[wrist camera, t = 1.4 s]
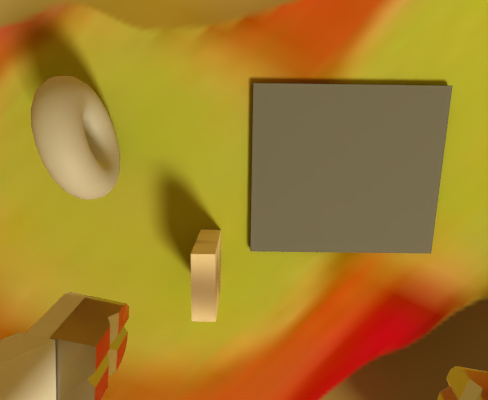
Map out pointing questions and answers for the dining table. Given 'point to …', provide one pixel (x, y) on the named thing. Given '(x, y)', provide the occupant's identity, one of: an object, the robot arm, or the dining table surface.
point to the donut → (75, 137)
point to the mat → (346, 166)
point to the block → (206, 275)
